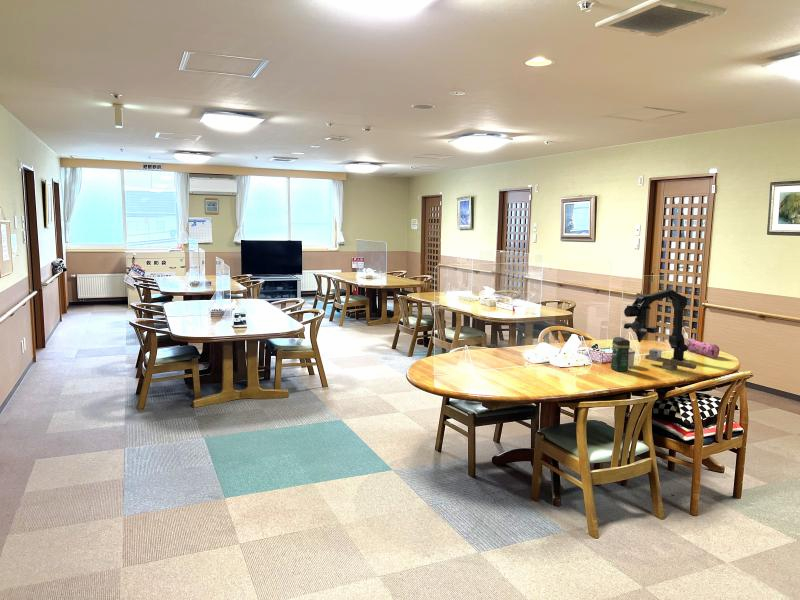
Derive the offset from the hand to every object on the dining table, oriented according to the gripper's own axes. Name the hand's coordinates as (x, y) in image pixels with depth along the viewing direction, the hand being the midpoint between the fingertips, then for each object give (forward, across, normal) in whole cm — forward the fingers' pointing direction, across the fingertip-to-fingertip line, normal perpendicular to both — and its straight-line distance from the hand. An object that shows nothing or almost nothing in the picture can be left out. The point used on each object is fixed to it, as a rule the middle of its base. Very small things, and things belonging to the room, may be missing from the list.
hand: (639, 342), depth 352 cm
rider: (+9, +10, 0) cm, 13 cm away
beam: (+12, +19, 0) cm, 22 cm away
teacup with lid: (+12, -1, -15) cm, 19 cm away
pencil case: (+12, +17, +50) cm, 54 cm away
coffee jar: (+12, +2, -26) cm, 29 cm away
